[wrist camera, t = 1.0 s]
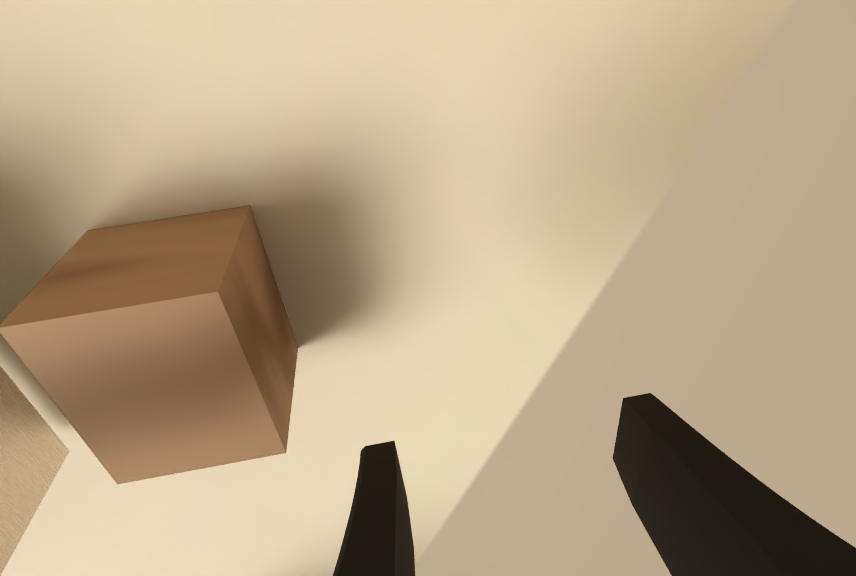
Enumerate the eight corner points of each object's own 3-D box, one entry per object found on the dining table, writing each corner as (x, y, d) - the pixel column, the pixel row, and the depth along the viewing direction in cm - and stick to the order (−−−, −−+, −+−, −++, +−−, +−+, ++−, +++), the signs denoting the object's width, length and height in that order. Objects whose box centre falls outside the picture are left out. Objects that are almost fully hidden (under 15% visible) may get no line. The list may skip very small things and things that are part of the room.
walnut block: (298, 346, 19) (285, 452, 15) (166, 368, 19) (117, 484, 15) (250, 204, 16) (217, 291, 12) (88, 229, 15) (-4, 328, 11)
